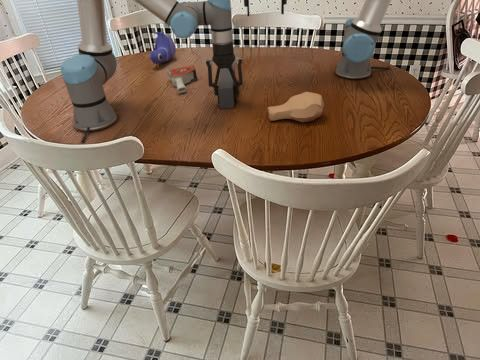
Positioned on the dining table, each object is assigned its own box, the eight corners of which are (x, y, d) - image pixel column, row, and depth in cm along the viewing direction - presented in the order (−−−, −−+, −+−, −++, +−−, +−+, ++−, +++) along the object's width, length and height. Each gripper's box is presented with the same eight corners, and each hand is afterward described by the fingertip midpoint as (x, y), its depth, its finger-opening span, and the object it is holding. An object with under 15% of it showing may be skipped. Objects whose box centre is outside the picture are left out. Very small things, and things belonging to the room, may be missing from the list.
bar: (234, 107, 137) (232, 87, 133) (219, 108, 138) (218, 88, 133) (235, 80, 161) (234, 62, 156) (223, 81, 161) (222, 63, 156)
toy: (164, 64, 198) (143, 70, 176) (159, 31, 191) (137, 33, 169) (180, 63, 196) (162, 69, 173) (176, 30, 189) (156, 32, 167)
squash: (327, 123, 123) (327, 101, 117) (270, 133, 125) (267, 112, 119) (321, 105, 131) (320, 84, 124) (267, 115, 133) (264, 94, 126)
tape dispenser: (182, 98, 151) (209, 79, 163) (180, 86, 147) (208, 68, 160) (151, 89, 158) (180, 72, 171) (149, 78, 155) (178, 61, 167)
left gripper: (248, 37, 130) (250, 97, 143) (197, 40, 130) (204, 99, 144) (248, 43, 124) (250, 105, 137) (195, 46, 124) (203, 107, 138)
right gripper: (297, -52, 132) (295, 10, 144) (231, -47, 133) (234, 14, 145) (300, -50, 126) (297, 14, 138) (230, -46, 127) (234, 18, 139)
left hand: (227, 102), depth 141 cm, fingers closed on bar, 6 cm apart
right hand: (265, 14), depth 142 cm, fingers open, 13 cm apart
